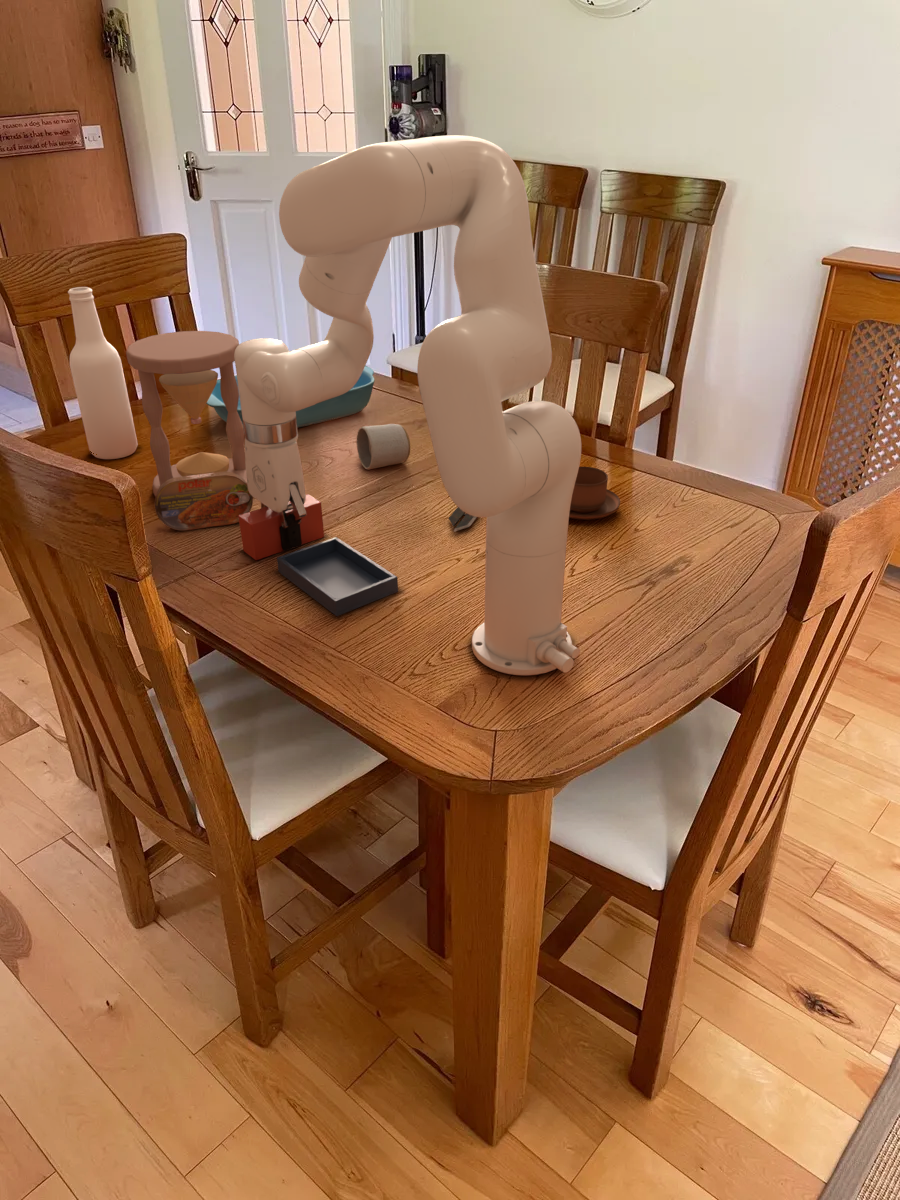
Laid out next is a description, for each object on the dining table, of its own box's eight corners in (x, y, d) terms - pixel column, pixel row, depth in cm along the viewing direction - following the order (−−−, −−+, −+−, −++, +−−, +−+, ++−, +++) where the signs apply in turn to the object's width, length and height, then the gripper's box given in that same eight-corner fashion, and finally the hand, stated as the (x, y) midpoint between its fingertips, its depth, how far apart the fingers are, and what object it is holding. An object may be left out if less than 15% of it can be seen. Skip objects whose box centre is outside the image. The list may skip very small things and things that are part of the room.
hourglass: (249, 462, 164) (230, 326, 151) (265, 500, 150) (247, 353, 137) (150, 476, 159) (122, 336, 146) (158, 516, 145) (128, 365, 132)
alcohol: (124, 461, 165) (89, 295, 149) (81, 458, 167) (42, 293, 151) (146, 444, 173) (115, 284, 157) (105, 441, 174) (69, 282, 158)
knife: (462, 537, 138) (462, 529, 138) (425, 529, 141) (425, 521, 140) (522, 477, 158) (522, 470, 157) (488, 471, 160) (489, 464, 159)
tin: (159, 533, 140) (149, 484, 136) (159, 525, 143) (150, 476, 138) (256, 522, 143) (249, 473, 139) (254, 513, 146) (248, 466, 142)
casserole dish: (229, 449, 170) (223, 413, 166) (191, 415, 186) (185, 382, 183) (396, 412, 187) (394, 379, 183) (348, 385, 203) (346, 353, 199)
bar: (324, 537, 139) (321, 502, 136) (255, 560, 132) (250, 524, 129) (311, 528, 141) (307, 493, 138) (243, 550, 135) (237, 515, 132)
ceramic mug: (413, 467, 162) (412, 426, 158) (372, 475, 159) (370, 434, 155) (389, 448, 170) (387, 410, 166) (350, 456, 167) (347, 417, 163)
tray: (398, 591, 124) (397, 576, 123) (336, 616, 119) (335, 601, 118) (337, 550, 135) (336, 536, 133) (278, 571, 129) (276, 557, 128)
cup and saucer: (554, 491, 153) (556, 457, 149) (624, 499, 150) (627, 465, 146) (538, 520, 143) (540, 485, 140) (613, 530, 140) (616, 494, 137)
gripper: (220, 419, 131) (236, 530, 140) (276, 452, 119) (290, 570, 129) (265, 408, 135) (278, 516, 144) (324, 439, 123) (334, 554, 133)
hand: (284, 540), depth 137 cm, fingers closed on bar, 4 cm apart
